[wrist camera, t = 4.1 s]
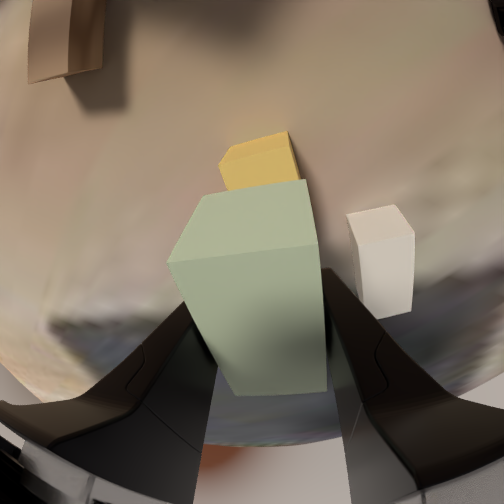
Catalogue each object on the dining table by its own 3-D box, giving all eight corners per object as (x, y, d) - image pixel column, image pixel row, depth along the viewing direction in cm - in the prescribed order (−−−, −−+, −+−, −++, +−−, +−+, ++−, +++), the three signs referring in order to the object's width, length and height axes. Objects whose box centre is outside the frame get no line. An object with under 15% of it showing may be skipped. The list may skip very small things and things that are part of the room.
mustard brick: (230, 146, 15) (217, 165, 12) (287, 130, 14) (289, 145, 11) (262, 236, 18) (258, 270, 15) (312, 225, 17) (318, 258, 15)
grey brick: (345, 213, 17) (357, 245, 14) (394, 203, 16) (414, 233, 13) (355, 285, 20) (364, 322, 17) (396, 276, 19) (410, 311, 16)
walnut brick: (69, -4, 9) (34, -8, 6) (110, -18, 9) (76, -29, 6) (64, 76, 13) (28, 84, 10) (103, 67, 12) (67, 72, 10)
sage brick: (203, 195, 9) (166, 262, 6) (305, 178, 8) (317, 243, 5) (245, 324, 12) (235, 396, 9) (320, 317, 12) (326, 391, 9)
